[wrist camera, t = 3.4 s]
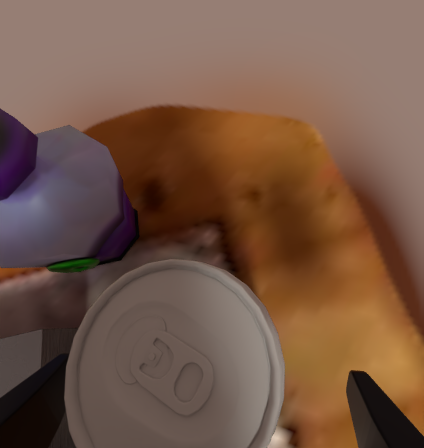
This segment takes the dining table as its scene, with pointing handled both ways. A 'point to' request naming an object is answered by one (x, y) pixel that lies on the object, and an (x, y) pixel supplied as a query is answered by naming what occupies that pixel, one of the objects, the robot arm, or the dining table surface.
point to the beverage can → (175, 363)
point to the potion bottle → (60, 200)
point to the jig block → (35, 365)
